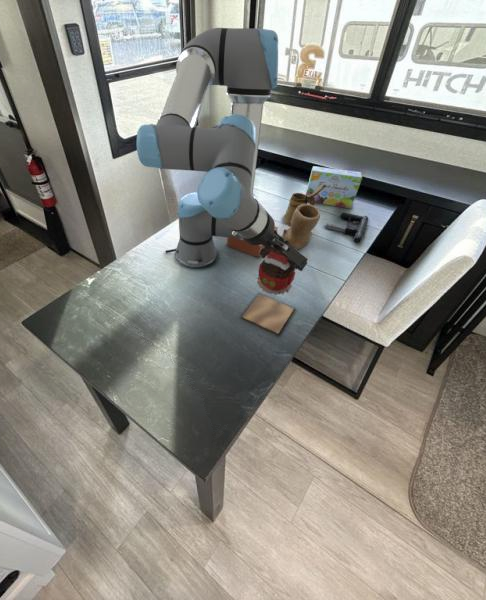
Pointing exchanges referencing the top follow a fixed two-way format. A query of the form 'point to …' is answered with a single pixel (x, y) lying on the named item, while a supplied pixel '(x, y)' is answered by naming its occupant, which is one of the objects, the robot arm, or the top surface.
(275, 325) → the cork mat
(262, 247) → the orange square tray
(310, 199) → the brown watering can
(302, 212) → the tan boot
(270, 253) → the cake
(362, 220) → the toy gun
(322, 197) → the snack box
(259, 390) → the top surface
